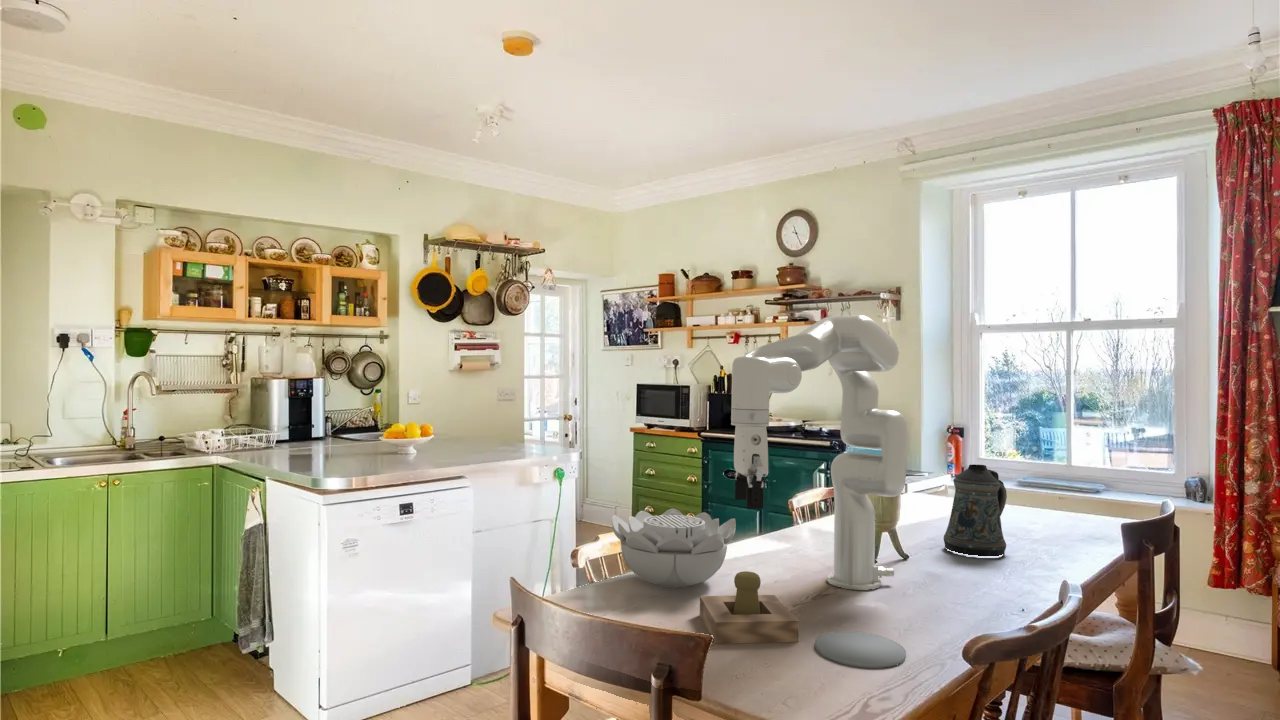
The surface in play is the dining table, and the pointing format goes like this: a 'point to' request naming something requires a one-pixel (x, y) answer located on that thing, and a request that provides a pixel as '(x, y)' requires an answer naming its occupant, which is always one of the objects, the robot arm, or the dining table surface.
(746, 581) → the cork
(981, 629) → the dining table surface
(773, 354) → the robot arm
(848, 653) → the slate mat
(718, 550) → the decorative bowl
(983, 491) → the beer stein
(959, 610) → the dining table surface
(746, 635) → the walnut holder
